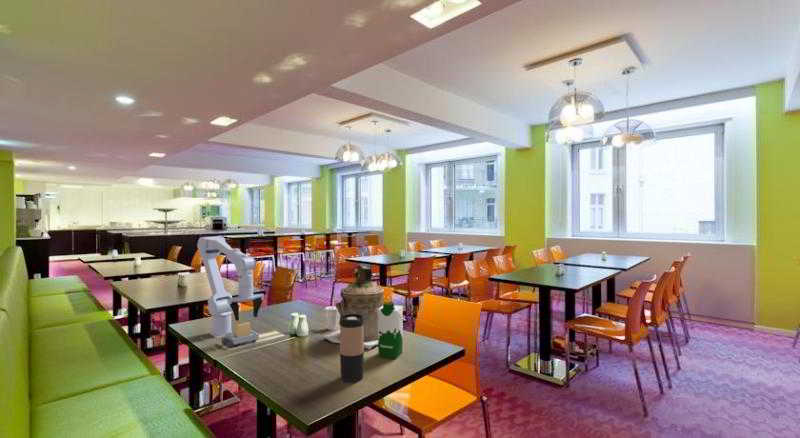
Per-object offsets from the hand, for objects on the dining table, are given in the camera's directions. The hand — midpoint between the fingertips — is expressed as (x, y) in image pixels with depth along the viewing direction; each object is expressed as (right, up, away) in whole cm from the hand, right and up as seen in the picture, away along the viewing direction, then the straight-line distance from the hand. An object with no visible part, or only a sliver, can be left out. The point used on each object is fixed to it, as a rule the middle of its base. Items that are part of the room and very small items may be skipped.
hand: (246, 318), depth 164 cm
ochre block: (-1, -6, -2) cm, 7 cm away
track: (+2, -10, +1) cm, 10 cm away
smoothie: (+33, -9, +17) cm, 38 cm away
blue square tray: (-1, -9, -2) cm, 10 cm away
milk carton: (+61, -10, -16) cm, 64 cm away
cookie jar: (+48, -10, +5) cm, 49 cm away
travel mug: (+49, -10, -36) cm, 62 cm away
